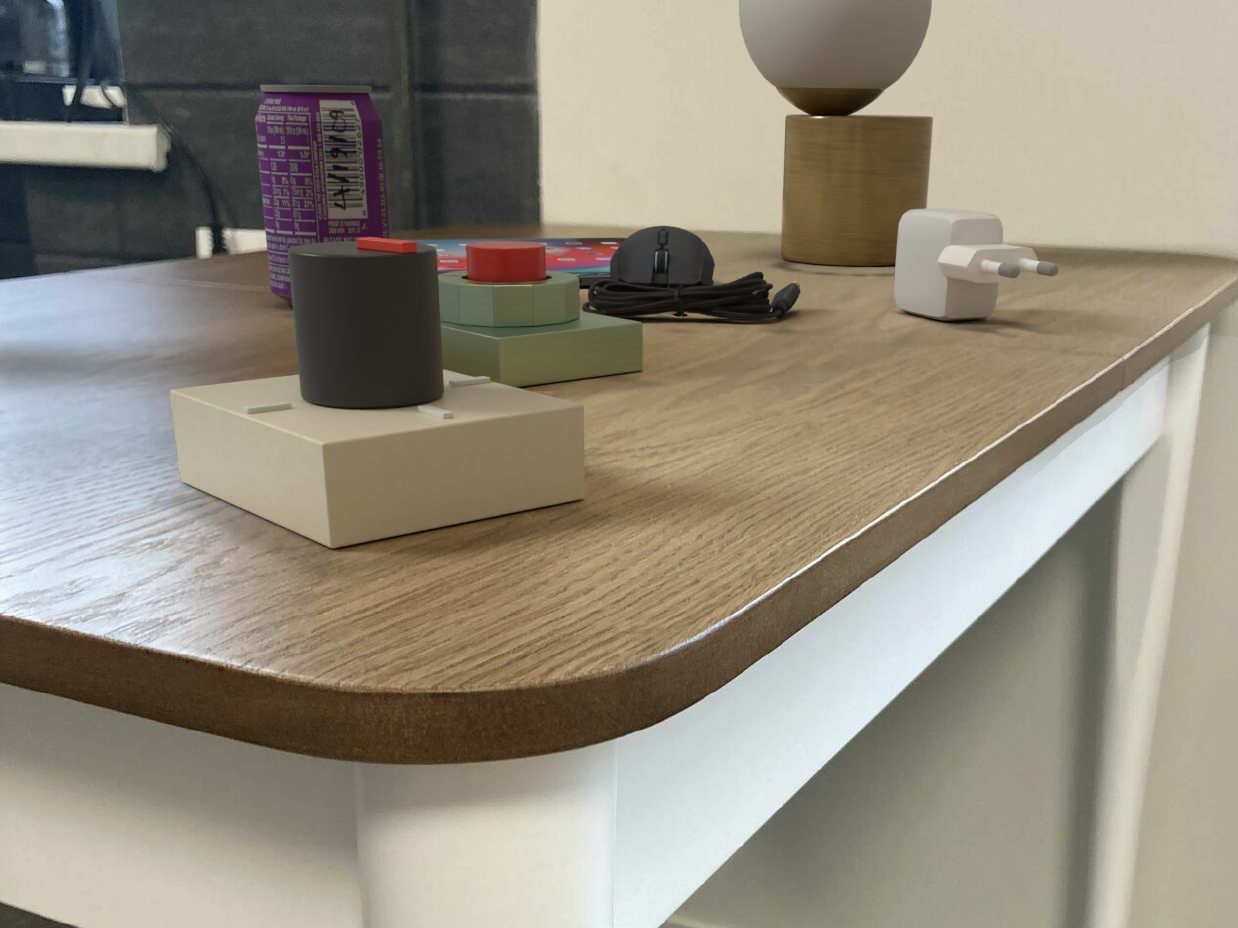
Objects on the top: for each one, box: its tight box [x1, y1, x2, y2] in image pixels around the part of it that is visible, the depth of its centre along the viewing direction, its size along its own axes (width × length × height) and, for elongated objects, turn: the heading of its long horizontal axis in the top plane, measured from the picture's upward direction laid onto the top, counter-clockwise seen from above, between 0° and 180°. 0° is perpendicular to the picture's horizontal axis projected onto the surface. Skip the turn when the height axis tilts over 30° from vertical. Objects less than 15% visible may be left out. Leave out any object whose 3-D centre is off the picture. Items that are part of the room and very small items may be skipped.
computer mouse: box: [581, 225, 801, 320], centre depth 89 cm, size 12×18×4 cm
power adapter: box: [893, 207, 1060, 322], centre depth 83 cm, size 11×5×6 cm, turn 25°
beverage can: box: [254, 84, 390, 306], centre depth 86 cm, size 7×7×12 cm
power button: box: [466, 241, 546, 282], centre depth 68 cm, size 4×4×2 cm
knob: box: [288, 237, 444, 408], centre depth 45 cm, size 4×4×5 cm
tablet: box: [404, 237, 628, 287], centre depth 108 cm, size 19×25×1 cm
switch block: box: [438, 270, 643, 388], centre depth 69 cm, size 10×8×4 cm
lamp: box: [738, 0, 934, 267], centre depth 111 cm, size 15×14×25 cm
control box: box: [169, 369, 586, 549], centre depth 47 cm, size 10×9×3 cm
